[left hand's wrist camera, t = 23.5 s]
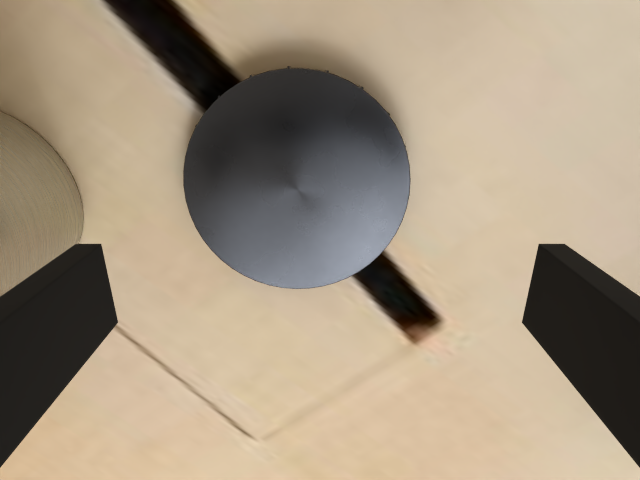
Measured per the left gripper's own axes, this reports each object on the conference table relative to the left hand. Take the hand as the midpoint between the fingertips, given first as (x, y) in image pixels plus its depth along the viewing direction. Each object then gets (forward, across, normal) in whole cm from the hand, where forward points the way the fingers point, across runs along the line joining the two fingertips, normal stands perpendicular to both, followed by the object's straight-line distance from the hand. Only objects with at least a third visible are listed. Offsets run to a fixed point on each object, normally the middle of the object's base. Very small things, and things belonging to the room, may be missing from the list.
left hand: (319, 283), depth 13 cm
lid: (+9, +1, -1) cm, 9 cm away
